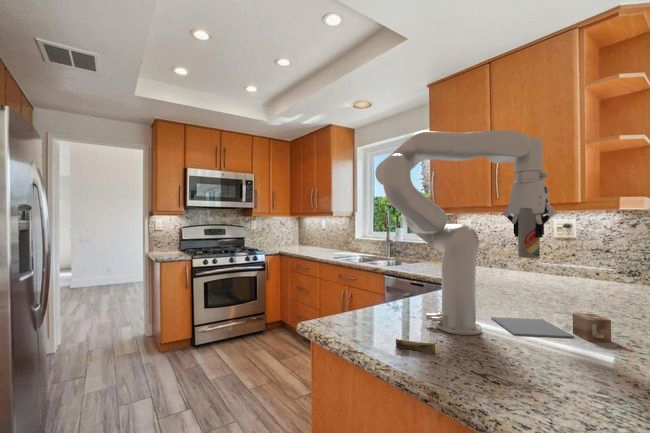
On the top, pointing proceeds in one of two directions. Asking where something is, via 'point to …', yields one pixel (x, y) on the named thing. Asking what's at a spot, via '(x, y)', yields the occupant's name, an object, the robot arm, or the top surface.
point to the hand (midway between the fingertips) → (528, 236)
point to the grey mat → (531, 327)
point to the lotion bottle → (527, 234)
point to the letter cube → (592, 327)
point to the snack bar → (415, 346)
